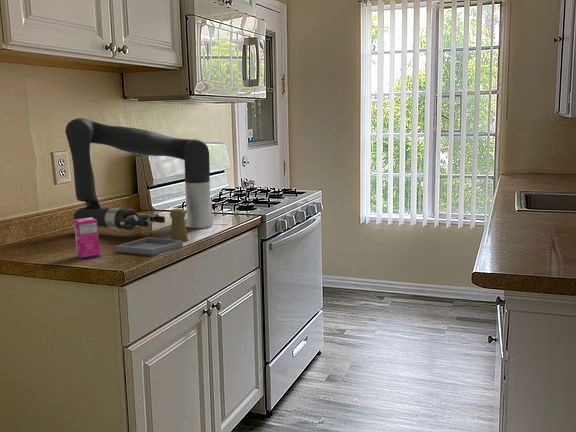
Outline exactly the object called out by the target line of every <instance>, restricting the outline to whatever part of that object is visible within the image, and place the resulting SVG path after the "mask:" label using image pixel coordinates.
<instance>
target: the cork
mask: <svg viewBox="0 0 576 432" xmlns="http://www.w3.org/2000/svg"><path fill="white" fill-rule="evenodd" d="M169 216H170V218H171V226H170V227H171V228H170V238H169V239H171V240H181V241H183V243H186V242H188V241H189V238H188V233H187V231H188V230H187V226H186V225H187V224H186V221H185V218H186V216H187V211H186V210H185V209H183V208H173V209H171V210H170V212H169Z"/></svg>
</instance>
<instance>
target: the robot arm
mask: <svg viewBox="0 0 576 432" xmlns="http://www.w3.org/2000/svg"><path fill="white" fill-rule="evenodd" d="M64 130H65V132H64V133H65V136H66V140H67V143H68V146H69V150H70V154H71V159H72V160H71V161H72V165H73V166H72V167H73V178H74V189H75V190H74V191H75V197H76V200H77V201H79V202H84V204H85V207H81V208H78V209H76V210H75V211H74V214H73V215H72V218H73V221H74V220H76V219H84V218H94V219H96V220H97V226H98V228H101V227H102V228H110V229H115V230H122V231H123V230H124V231H131V230H134V229H135V228H138V227H142V228H143V227H145V228H146V227H149V225H151V223H158V224H160V223H161V224H164V223H166V218H165V216H162V215H160V214H159V213H137V212H136V210H134V209H131V208H121V207H119V208H118V207H116V208H114V207H113V208H110V207H106V208H105V207H103V208H102V207H101V204H100V201H99V199H98V196H97V192H96V183H95V182H96V181H95V174H94V170H93V167H92V161H91V152H90V150H91V149H90V148H91V144H95V145H96V144H98V145H106V146H108V147H112V148H115V149H118V150H120V151H124V152H127V153H131V154H137V155H142V156H148V157H149V156H151V157H172V158H175V159H179V160H183V163H184V183H185V187H184V189H185V203H186V204H185V205H186V206H185V207H186V225H187V226H186V228H189V229H207V228H211V227H212V226H213V222H214V221H213V203H212V200H211V185H210V184H211V182H210V181H211V180H210V176H211V173H210V172H211V171H210V169H211V167H210V166H211V164H210V150H209V147H208V145H207V143H205V141H202V140H200V139H193V138H192V139H189V138H178V137H172V136H167V135H165V134H161V133H160V132H156V131H152V130H147V129H142V128H137V127H128V126H119V125H117V126H116V125H109V124H104V123H99V122H96V121H93V120H89V119H86V118H82V117H78V118H77V117H76V118H74V119H72V120H70V121H69V122H68V123H67V124H66V127H65V129H64Z"/></svg>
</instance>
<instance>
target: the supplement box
mask: <svg viewBox="0 0 576 432" xmlns="http://www.w3.org/2000/svg"><path fill="white" fill-rule="evenodd" d="M73 224H74V234H75V235H74V236H75V237H74V238H75V245H76V246H75V247H76V255H77V257H78V258H80V259H81V260H87V259H94V258H100V257H101V251H100V250H101V247H100V240H99V227H98V226H97V220H96V219H94V218H84V219H76V220H74V219H73ZM93 257H94V258H93ZM86 258H87V259H86Z"/></svg>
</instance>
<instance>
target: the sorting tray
mask: <svg viewBox="0 0 576 432" xmlns="http://www.w3.org/2000/svg"><path fill="white" fill-rule="evenodd" d="M183 243H184V242H183V241H181V240H171V239H170V238H169V239H168V238H158V237H143V238H140V239H136V240H133V241H130V242H125V243H122V244H118V245H116V246H115V248H116V251H115V252H116V253H124V254H131V255H140V256H149V257H154V256H157V255H158V256H159V255H160V254H164V253H166V252H171V251H173V250H176V249H179V248H180V249H181V248H183V247H184V245H183Z"/></svg>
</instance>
